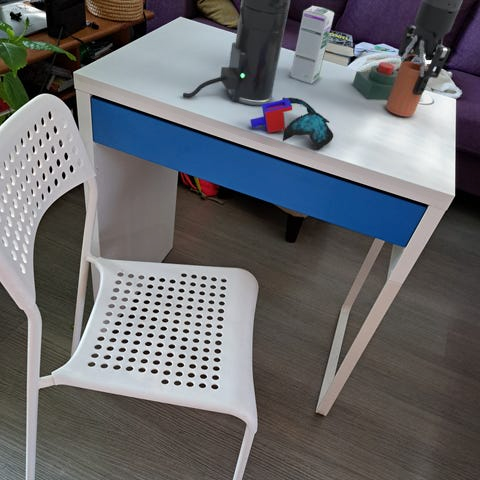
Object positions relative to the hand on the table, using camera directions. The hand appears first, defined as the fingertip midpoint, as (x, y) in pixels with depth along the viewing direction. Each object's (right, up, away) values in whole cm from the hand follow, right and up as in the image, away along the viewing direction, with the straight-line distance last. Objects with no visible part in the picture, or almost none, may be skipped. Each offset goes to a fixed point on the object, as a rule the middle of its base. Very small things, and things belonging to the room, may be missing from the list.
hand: (408, 86), depth 111 cm
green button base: (-4, +4, +11) cm, 12 cm away
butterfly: (-20, -15, -12) cm, 28 cm away
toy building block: (-28, -12, -15) cm, 33 cm away
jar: (-1, -4, +4) cm, 5 cm away
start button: (-3, +7, +8) cm, 11 cm away
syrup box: (-22, +7, +10) cm, 25 cm away
